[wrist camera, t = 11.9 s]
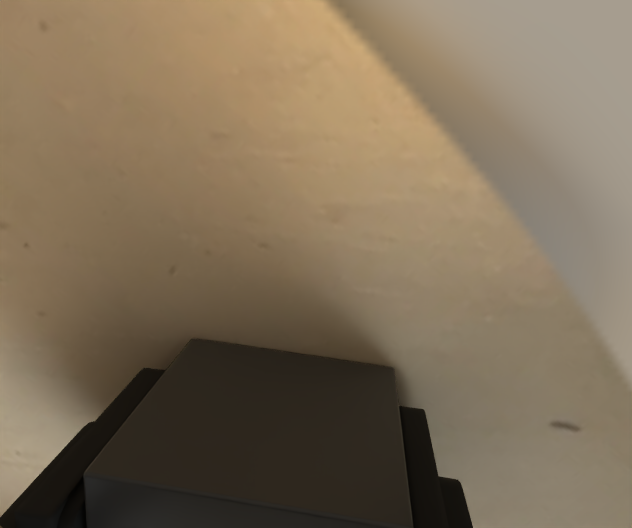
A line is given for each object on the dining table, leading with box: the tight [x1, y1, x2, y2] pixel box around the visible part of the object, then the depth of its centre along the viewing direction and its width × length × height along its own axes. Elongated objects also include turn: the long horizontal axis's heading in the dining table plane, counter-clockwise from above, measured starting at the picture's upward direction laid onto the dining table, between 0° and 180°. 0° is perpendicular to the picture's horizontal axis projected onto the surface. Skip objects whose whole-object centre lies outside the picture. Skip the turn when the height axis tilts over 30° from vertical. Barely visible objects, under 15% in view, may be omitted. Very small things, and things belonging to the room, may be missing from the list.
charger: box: [83, 339, 413, 528], centre depth 8 cm, size 5×4×4 cm
